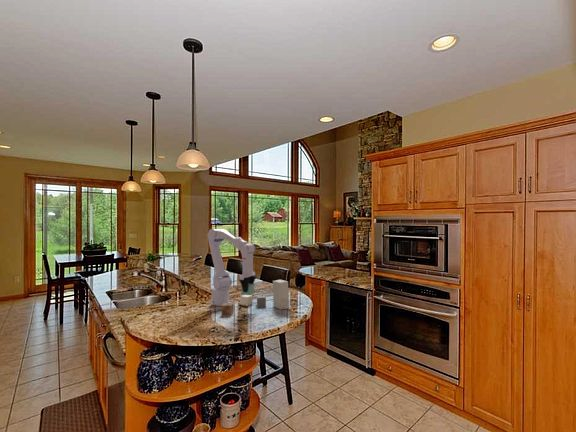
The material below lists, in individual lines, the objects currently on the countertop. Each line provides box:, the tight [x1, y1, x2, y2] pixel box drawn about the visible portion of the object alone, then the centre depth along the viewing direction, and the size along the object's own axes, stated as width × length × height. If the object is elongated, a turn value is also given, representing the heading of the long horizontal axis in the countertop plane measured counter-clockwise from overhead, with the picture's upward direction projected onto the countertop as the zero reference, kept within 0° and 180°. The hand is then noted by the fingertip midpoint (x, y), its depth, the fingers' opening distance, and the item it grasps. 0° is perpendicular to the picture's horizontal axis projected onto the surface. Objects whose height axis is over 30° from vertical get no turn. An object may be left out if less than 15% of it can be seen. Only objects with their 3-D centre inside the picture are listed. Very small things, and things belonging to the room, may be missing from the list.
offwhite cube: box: [239, 294, 254, 307], centre depth 174 cm, size 5×5×5 cm
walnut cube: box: [221, 302, 235, 316], centre depth 156 cm, size 5×5×5 cm
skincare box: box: [272, 279, 290, 310], centre depth 167 cm, size 8×6×15 cm
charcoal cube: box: [256, 295, 267, 308], centre depth 171 cm, size 5×5×5 cm
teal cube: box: [241, 283, 255, 296], centre depth 162 cm, size 5×5×5 cm
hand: (247, 290), depth 162 cm, fingers closed on teal cube, 5 cm apart
